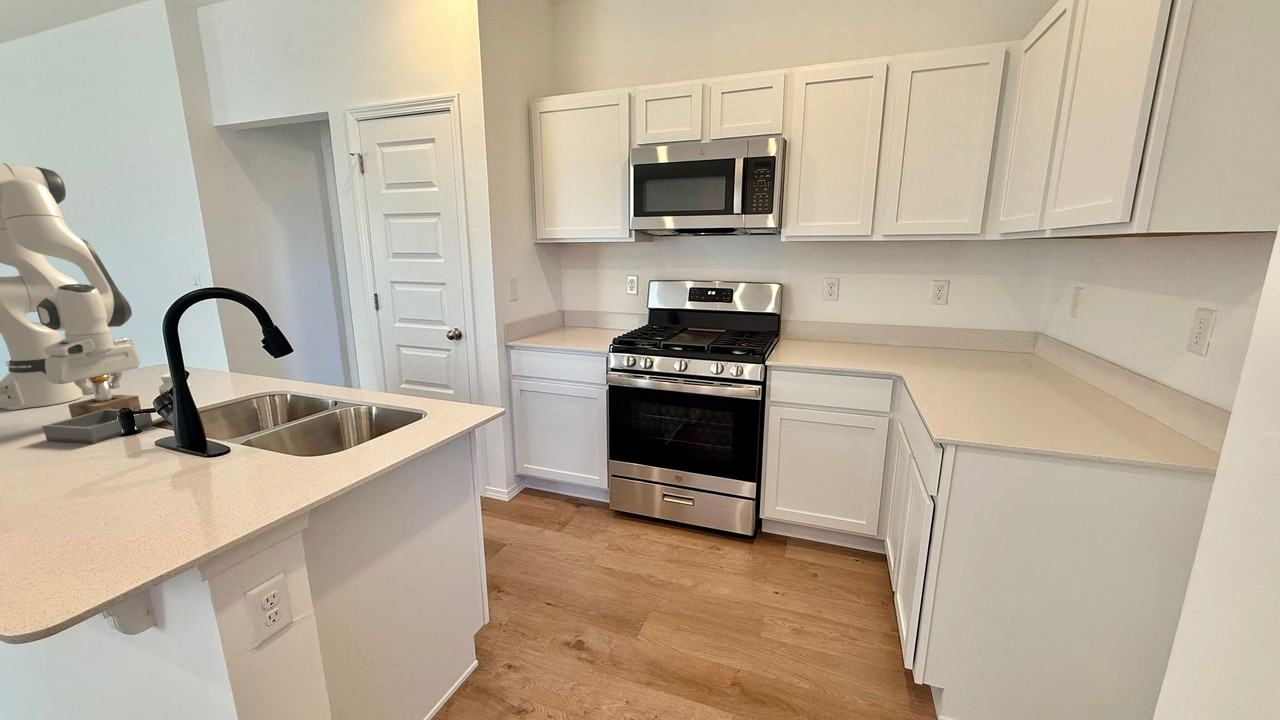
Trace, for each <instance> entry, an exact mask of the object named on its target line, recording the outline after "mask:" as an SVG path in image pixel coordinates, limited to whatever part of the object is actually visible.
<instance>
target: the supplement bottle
mask: <svg viewBox="0 0 1280 720" xmlns="http://www.w3.org/2000/svg"><path fill="white" fill-rule="evenodd" d="M170 374H171V373H166V374H163V375H162V374H161V377H160V378H161V381H162V382H163V384H161V385H160V386H159V388H158V391H159V395H160V397H161V395H162V394H164V393H165V392H167V391H169V390H170V389H171V388H172V380H171V376H170ZM188 386H189V389H190V391H191V393H192V394H193V392H192V391H193V390H192V386H191V383H189V382H188Z"/></svg>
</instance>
